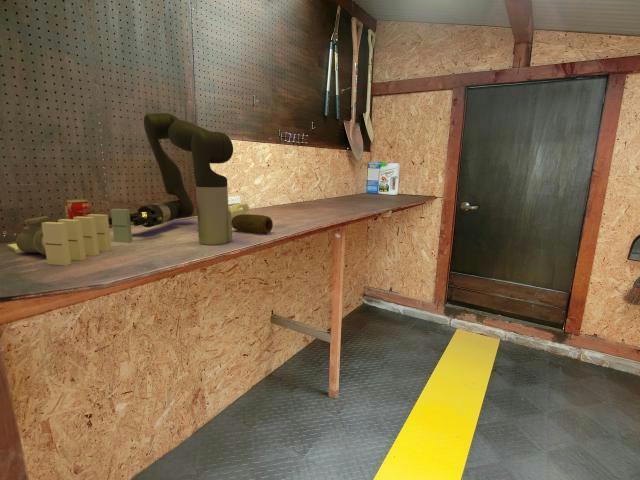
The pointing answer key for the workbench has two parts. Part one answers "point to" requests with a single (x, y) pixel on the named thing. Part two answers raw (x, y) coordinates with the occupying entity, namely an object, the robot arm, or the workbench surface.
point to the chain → (237, 211)
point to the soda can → (77, 208)
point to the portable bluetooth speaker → (252, 223)
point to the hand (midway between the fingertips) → (121, 222)
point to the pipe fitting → (32, 236)
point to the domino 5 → (121, 225)
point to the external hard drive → (14, 248)
